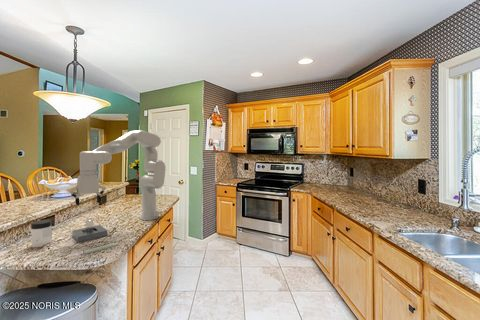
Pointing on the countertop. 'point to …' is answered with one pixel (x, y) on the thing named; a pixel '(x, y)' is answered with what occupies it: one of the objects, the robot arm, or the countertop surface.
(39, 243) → the jar
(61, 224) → the countertop surface
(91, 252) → the mat
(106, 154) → the robot arm
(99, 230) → the housing
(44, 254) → the countertop surface
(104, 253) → the countertop surface
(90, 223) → the grey rounded knob
